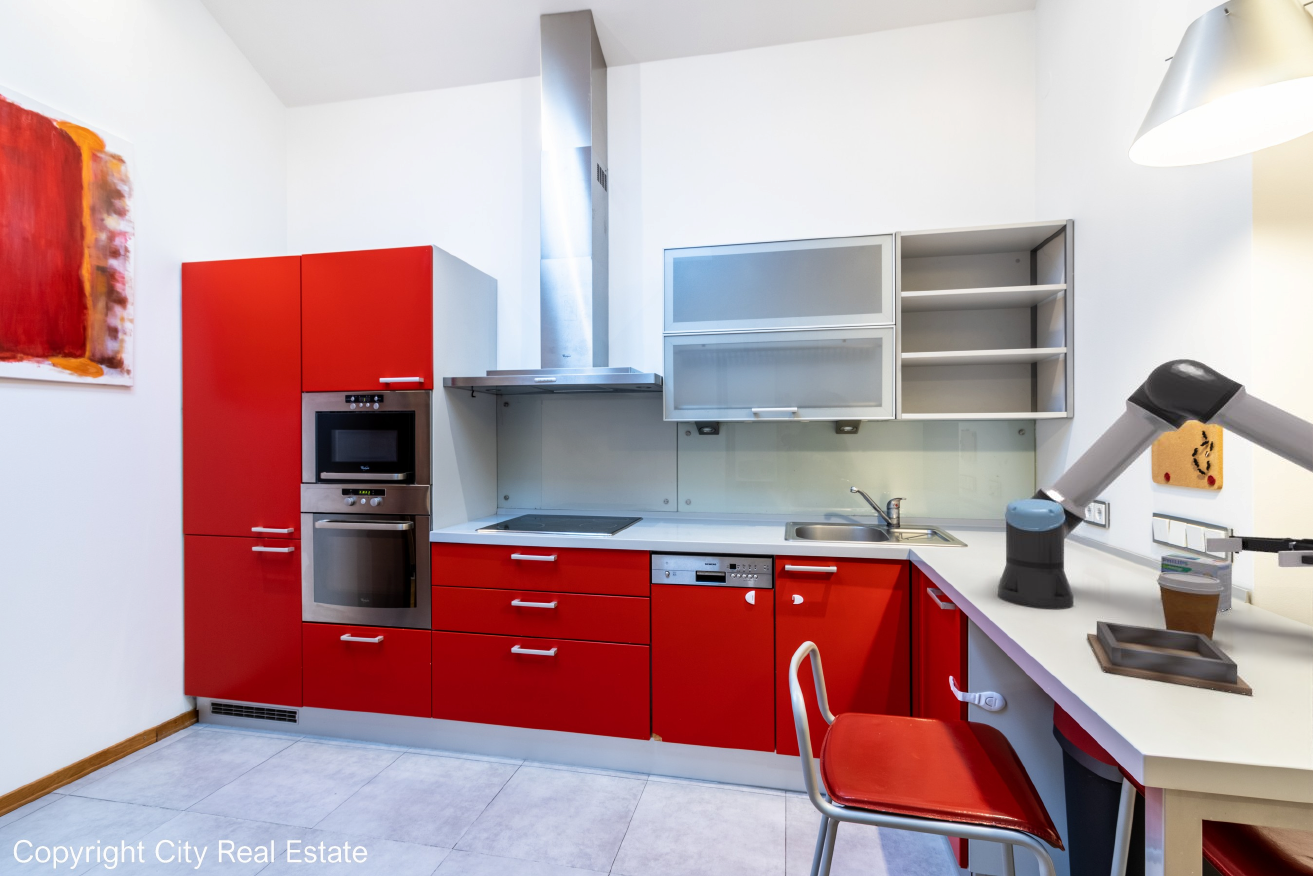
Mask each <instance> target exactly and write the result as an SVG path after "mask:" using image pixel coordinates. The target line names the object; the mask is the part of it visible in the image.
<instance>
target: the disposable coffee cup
mask: <svg viewBox="0 0 1313 876" xmlns="http://www.w3.org/2000/svg"><path fill="white" fill-rule="evenodd" d="M1156 582H1157V584H1158V586H1159V589H1160V590H1159V591H1160V599H1161V598H1162V600H1161V603H1162V609H1163V616H1164V621H1165V630H1173V631H1181V632H1189V633H1197V634H1205V635H1206V636H1207V637H1208V638H1209V639H1210V640H1211V641H1212V642H1213V635H1214V631H1215V630H1214V629H1215V624H1216V621H1217V620H1216V618H1217V614H1218V613H1217V608H1218V602H1219V598H1220V593H1222V590H1224V588H1223V587H1222V586H1221V583H1220V580H1218V579H1216V578H1212V577H1208V576H1204V575H1198V574H1191V573H1181V572H1162V573H1161V572H1160V573H1159V575H1158V577H1157V578H1156Z"/></svg>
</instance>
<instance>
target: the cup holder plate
mask: <svg viewBox="0 0 1313 876" xmlns="http://www.w3.org/2000/svg"><path fill="white" fill-rule="evenodd" d="M1086 635H1087V636H1086V639H1087V641H1088V643H1089V645H1090V647H1091V649H1092V648H1093V649H1092V652H1093V653H1094V655H1095V658H1096V659H1097V662H1098V661H1099V662H1098V663H1100V664H1099V666H1100V665H1101V666H1100V667H1102V668H1101V669H1103V670H1102V672H1103V671H1105V672H1104V673H1107V672H1111V673H1110V674H1114V673H1116V674H1115V675H1120V674H1121V676H1126V675H1129V676H1128V677H1132V676H1134V677H1133V678H1139V677H1140V679H1145V678H1147V679H1146V680H1151V679H1152V680H1151V681H1158V682H1164V683H1170V684H1171V683H1172V684H1176V685H1177V684H1178V685H1182V684H1186V685H1185V686H1189V685H1193V686H1192V687H1195V686H1199V687H1198V688H1201V687H1206V688H1205V689H1207V688H1213V689H1212V690H1214V689H1218V690H1217V691H1220V690H1224V691H1223V692H1226V691H1231V692H1230V693H1232V692H1238V693H1245V694H1250V695H1249V696H1251V695H1252V696H1253V689H1252V687H1251V686H1249V684H1248V683H1247V682H1245V680H1243V678H1241V677H1240V676H1239V675H1238V664H1237V663H1236V662H1235V661H1234V660H1233V659H1232V658H1231V657H1229V655H1227V654H1226V653H1225V651H1223V650H1222V649H1221V648H1220V647H1219V646H1218V645H1217V644H1215V642H1214V641H1213V640H1212V641H1211V640H1210V639H1209V638H1208V637H1207V636H1206V635H1205V634H1197V633H1189V632H1181V631H1173V630H1167V629H1166V628H1165V629H1164V628H1157V627H1156V628H1155V627H1149V626H1141V625H1132V624H1131V625H1130V624H1125V623H1115V622H1109V621H1100V620H1096V633H1094V634H1093V633H1088V632H1087V634H1086ZM1238 693H1237V694H1238ZM1245 694H1244V695H1245Z"/></svg>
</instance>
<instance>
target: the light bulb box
mask: <svg viewBox="0 0 1313 876" xmlns="http://www.w3.org/2000/svg"><path fill="white" fill-rule="evenodd" d="M1160 560H1161V561H1160V571H1161V572H1160V573H1162V572H1181V573H1191V574H1198V575H1204V576H1208V577H1212V578H1216V579H1218V580H1220V583H1221V586H1222V587H1223V588H1224V590H1222V593H1220V598H1219V602H1218V608H1217V612H1218V613H1220V612H1219V611H1222V610H1226V609H1230V608H1231V609H1232V593H1233V592H1232V587H1233V586H1232V583H1233V581H1232V580H1233V578H1232V577H1233V571H1232V570H1233V564H1232V561H1227V560H1219V559H1213V558H1205V557H1199V556H1193V555H1186V554H1179V553H1172V554H1166V555H1162V556H1161V559H1160ZM1160 601H1162V598H1161V597H1160ZM1231 609H1230V610H1231ZM1226 611H1227V610H1226ZM1222 612H1223V611H1222Z"/></svg>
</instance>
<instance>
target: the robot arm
mask: <svg viewBox="0 0 1313 876" xmlns="http://www.w3.org/2000/svg"><path fill="white" fill-rule="evenodd" d="M1125 407H1126V410H1125V411H1124V413H1122V414H1121V416H1119V418H1117V419H1116V420H1115V422H1113V424H1112V425H1110V427H1109V428H1108V429H1107V430H1106V431H1105V432H1104V433H1103V434H1102V435H1101V436H1100V437H1098V439H1097V440H1096V441H1095V442H1094V443H1093V444H1092V445H1091V446H1090V447H1089V448H1088V449H1086V451H1085V452H1084V453H1083V454H1082V455H1081V456H1080V457H1079V458H1078V459H1077V460H1076V461H1075V462H1073V464H1072V465H1071V466H1070V468H1069V469H1067V470H1066V471H1065V472H1064V474H1062V476H1061V477H1059V478H1058V479H1057V480H1056V482H1055V483H1054V484H1053V485H1050V486H1041V487H1040V488H1039V489H1038V490H1037V492H1035V493H1034V495H1033V496H1032V497H1030V498H1027V499H1025V498H1023V499H1019V500H1013V501H1010V502H1008V503H1007V505H1006V510H1005V513H1004V517H1005V544H1006V545H1005V565H1004V566H1005V567H1004V569H1003V572H1002V574H1001V577H1000V580H999V582H998V584H997V596H998V597H999V598H1001V599H1002V600H1004V601H1006V602H1009V603H1012V604H1017V605H1021V606H1027V607H1033V608H1042V609H1066V608H1067V609H1068V608H1071V607H1073V606H1074V594H1073V590H1072V588H1071V586H1070V582H1069V579H1068V578H1067V574H1066V572H1065V540H1066V538H1067V536H1069V535H1070V534H1071V533H1072V532H1073V531H1074V530H1075V529H1077V527H1078V526H1080V525H1081V524H1082V522H1084V520H1085V519H1087V516H1086V509H1087V508H1088V507H1089V506H1090V505H1091V504H1092V503H1093V502H1094V501H1095V500H1096V499H1097V498H1098V497H1099V496H1100V495H1101V494H1102V493H1103V492H1105V490H1107V488H1108V487H1109V486H1111V484H1113V483H1114V482H1115V481H1116V479H1118V477H1120V476H1121V475H1122V473H1124V472H1125V471H1126V470H1127V469H1128V468H1130V466H1131V465H1132V464H1133V463H1134V462H1135V461H1136V460H1137V459H1139V457H1140V456H1141V455H1142V454H1143V453H1145V451H1147V450H1148V448H1150V447H1151V446H1152V445H1153V444H1154V443H1155V442H1156V441H1157V440H1158V439H1159V438H1160V437H1161V436H1163V434H1165V433H1167V432H1177V431H1179V429H1181V427H1183V425H1185V424H1186V423H1187V422H1188V421H1189V420H1190V419H1193V420H1195V421H1197V422H1199V423H1201V424H1203V425H1204V426H1205V425H1206V426H1209V425H1217V426H1219V427H1220V428H1223V429H1225V430H1227V431H1229V432H1230V433H1232V434H1235V435H1236V436H1239V437H1241V438H1243V439H1245V440H1247V441H1248V442H1251V443H1253V444H1255V445H1257V446H1259V447H1261V448H1263V449H1265V450H1266V451H1269V452H1271V453H1273V454H1275V455H1277V456H1279V457H1281V458H1283V459H1285V460H1287V461H1288V462H1291V463H1293V464H1295V465H1297V466H1299V467H1300V468H1303V469H1305V470H1307V471H1309V472H1311V473H1313V423H1312V422H1309V421H1307V420H1305V419H1303V418H1300V417H1298V416H1296V415H1294V414H1292V413H1290V412H1288V411H1285V410H1283V409H1281V408H1279V407H1277V406H1275V405H1273V404H1270V403H1268V402H1266V401H1264V400H1262V399H1260V398H1258V397H1256V396H1253V395H1252V394H1250V393H1247V391H1246V387H1245V385H1243V384H1241V383H1240V382H1237V381H1235V380H1233V379H1231V378H1229V377H1228V376H1225V375H1224V374H1222V373H1220V372H1218V371H1216V370H1215V369H1213V368H1212V367H1210V366H1209V365H1207V364H1205V363H1203V362H1200V361H1197V360H1194V359H1187V358H1183V359H1182V358H1181V359H1180V358H1179V359H1174V360H1173V359H1172V360H1169V361H1167V362H1164V363H1161V364H1160V365H1159V366H1157V367H1156V368H1154V369H1153V370H1152V371H1151V372H1150V374H1149V375H1148V376H1147V378H1146V380H1144V382H1143V383H1142V384H1141V385H1139V387H1138V388H1137V389H1136V390H1135V391H1134V392H1133V393H1132V394H1131V395H1130V396H1129V397H1128V398H1127V399H1126V400H1125ZM1205 540H1206V552H1207V553H1230V552H1231V553H1233V552H1234V553H1235V554H1240V552H1241V553H1242V552H1243V551H1245V552H1256V553H1257V552H1259V553H1270V554H1271V553H1273V554H1277V555H1278V556H1277V558H1278V563H1277V564H1278V567H1280V568H1303V567H1304V568H1305V567H1306V568H1307V567H1309V568H1311V567H1312V568H1313V538H1301V539H1299V538H1291V537H1259V536H1244V535H1243V536H1238V535H1229V536H1228V537H1212V538H1211V537H1209V538H1207V537H1206V539H1205Z"/></svg>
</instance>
